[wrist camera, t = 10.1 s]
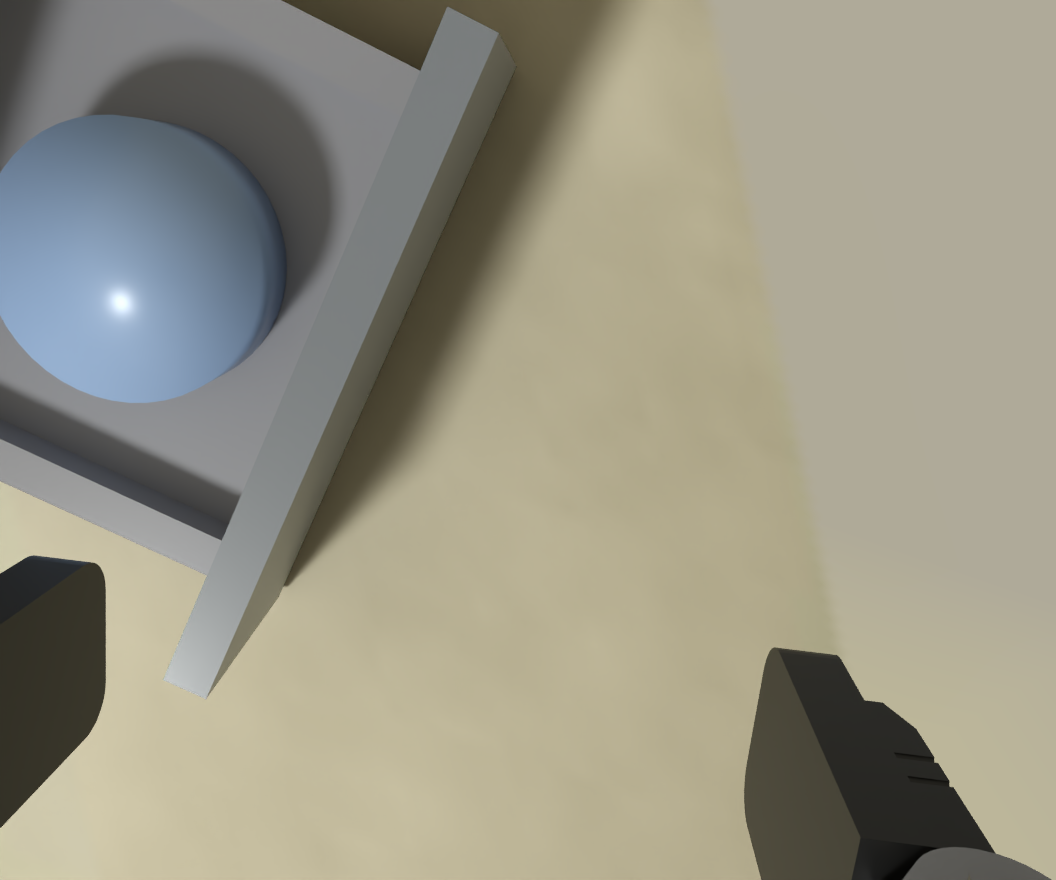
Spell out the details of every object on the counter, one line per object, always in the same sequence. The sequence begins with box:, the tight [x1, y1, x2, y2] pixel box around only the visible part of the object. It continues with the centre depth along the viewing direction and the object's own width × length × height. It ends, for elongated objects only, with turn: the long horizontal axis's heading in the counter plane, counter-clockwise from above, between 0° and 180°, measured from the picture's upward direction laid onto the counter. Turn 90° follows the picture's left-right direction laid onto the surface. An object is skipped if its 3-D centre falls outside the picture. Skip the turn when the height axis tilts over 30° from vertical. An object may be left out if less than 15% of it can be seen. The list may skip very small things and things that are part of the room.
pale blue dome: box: [0, 115, 287, 403], centre depth 21 cm, size 6×6×2 cm
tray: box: [0, 0, 517, 699], centre depth 21 cm, size 14×15×5 cm
